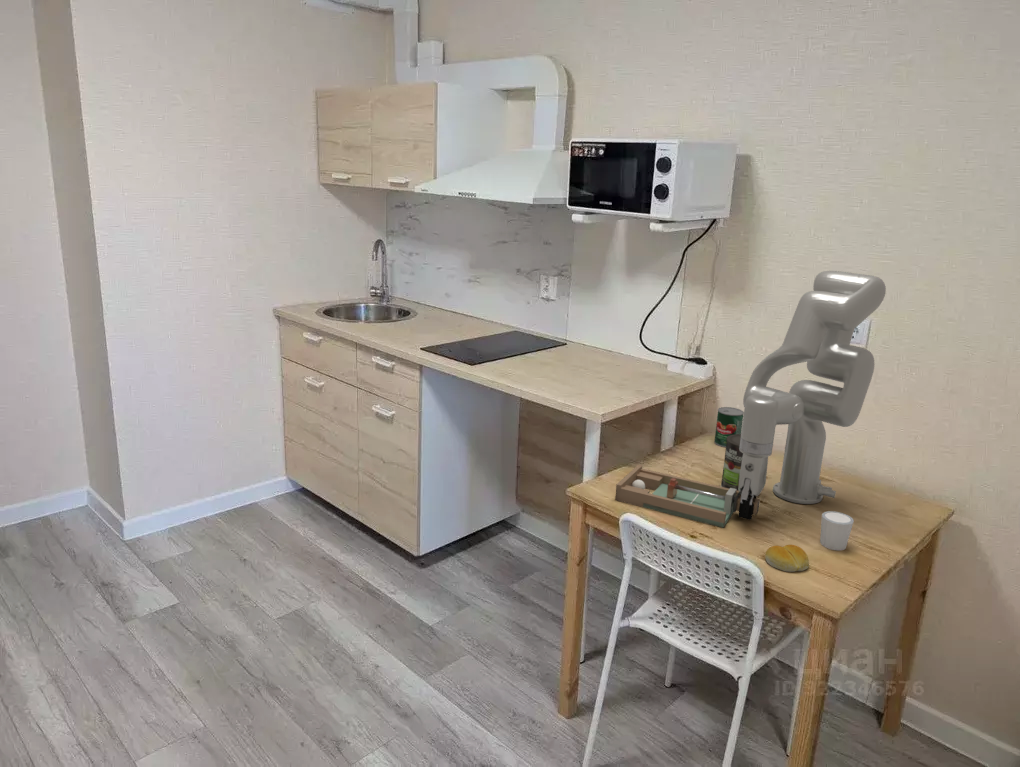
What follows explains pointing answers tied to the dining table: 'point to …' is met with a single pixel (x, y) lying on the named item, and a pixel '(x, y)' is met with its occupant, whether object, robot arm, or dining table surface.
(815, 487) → the robot arm
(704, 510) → the pitch
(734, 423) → the canned tomato
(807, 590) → the dining table surface
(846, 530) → the white cup
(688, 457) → the dining table surface
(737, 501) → the kicker rod
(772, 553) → the bread roll
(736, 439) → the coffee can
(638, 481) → the ball
